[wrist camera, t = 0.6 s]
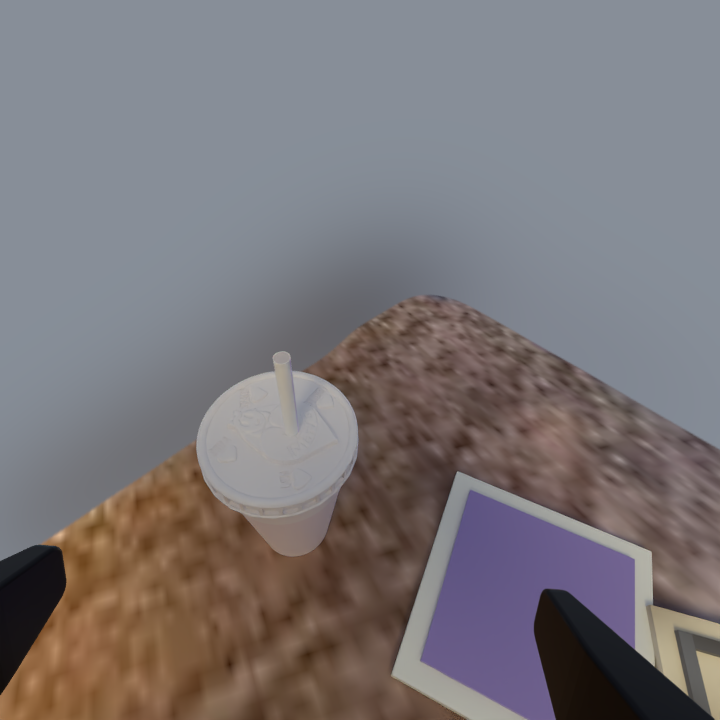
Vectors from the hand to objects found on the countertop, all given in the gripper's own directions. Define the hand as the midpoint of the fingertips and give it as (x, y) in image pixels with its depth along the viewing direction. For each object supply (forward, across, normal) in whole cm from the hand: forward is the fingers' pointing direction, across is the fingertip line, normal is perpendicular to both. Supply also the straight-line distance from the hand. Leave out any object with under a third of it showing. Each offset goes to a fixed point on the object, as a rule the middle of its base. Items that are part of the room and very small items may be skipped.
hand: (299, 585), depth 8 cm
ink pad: (+11, -10, +11) cm, 19 cm away
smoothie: (+14, +2, +9) cm, 17 cm away
